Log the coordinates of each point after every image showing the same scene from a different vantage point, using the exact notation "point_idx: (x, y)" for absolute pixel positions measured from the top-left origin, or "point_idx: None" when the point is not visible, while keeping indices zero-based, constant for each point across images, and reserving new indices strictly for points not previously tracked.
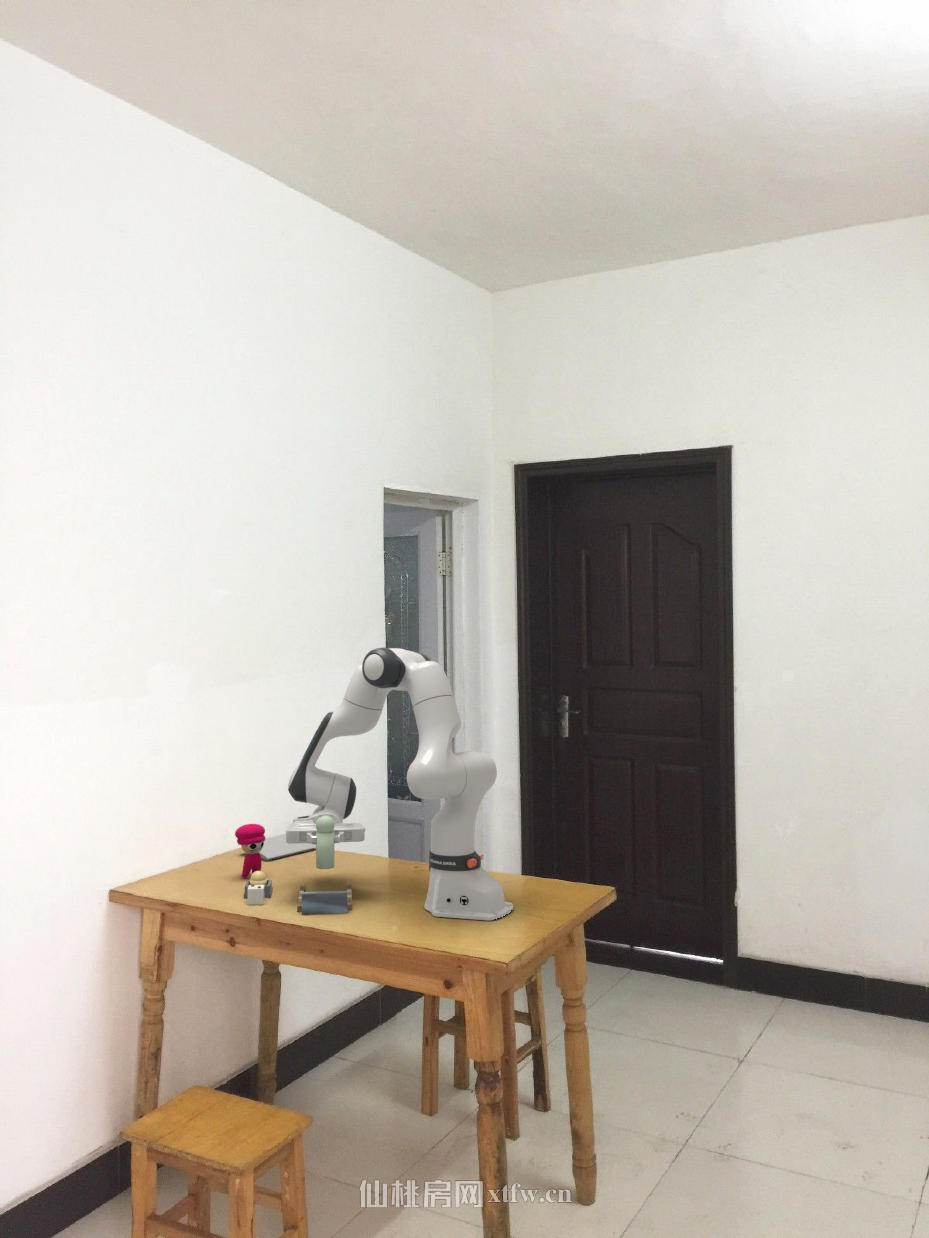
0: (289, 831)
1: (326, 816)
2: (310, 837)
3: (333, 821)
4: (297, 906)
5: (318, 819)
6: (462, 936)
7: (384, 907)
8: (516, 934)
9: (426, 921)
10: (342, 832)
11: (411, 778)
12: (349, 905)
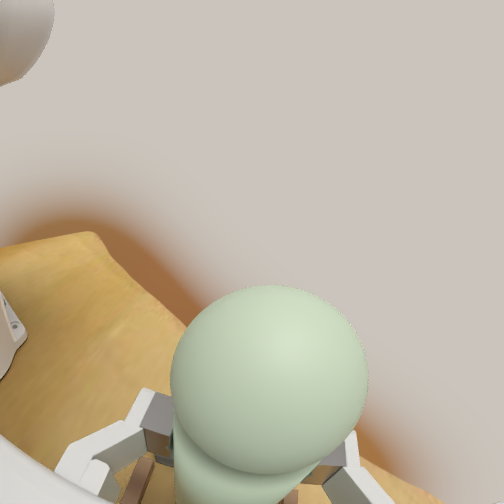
0: (497, 502)
1: (281, 293)
2: (353, 430)
3: (196, 318)
4: (297, 490)
5: (355, 333)
6: (66, 272)
7: (59, 435)
8: (21, 255)
9: (54, 328)
10: (80, 454)
11: (51, 22)
12: (147, 459)
